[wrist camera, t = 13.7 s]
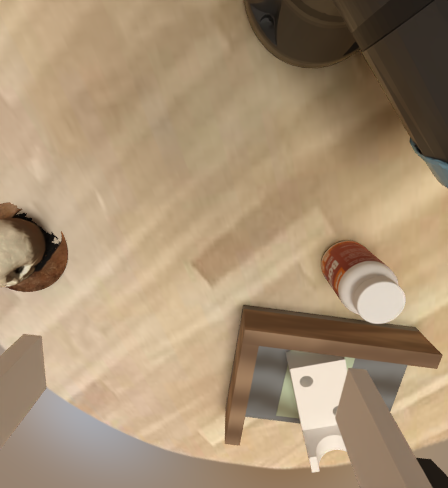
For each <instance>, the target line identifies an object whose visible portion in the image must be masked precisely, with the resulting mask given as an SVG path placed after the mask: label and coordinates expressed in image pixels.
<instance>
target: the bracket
mask: <svg viewBox="0 0 448 488" xmlns="http://www.w3.org/2000/svg"><path fill="white" fill-rule="evenodd" d="M286 357H287V362H288V366H289V371H290V376H291V381H292V386H293V390H294V395H295V400H296V405H297V410H298V415H299V419H300V424H301V428H302V432H303V436H304V441H305V445H306V449H307V453H308V457H309V461H310V465H311V470H312V472H319V462H320V459H321V458H322V456H323V455H324V454H325V453H327V452H329V451H331V450H343V451H346V452H347V450H346V447H345V445H344V442H343V439H342V436H341V433H340V431H339V428H338V425H337V422H336V419H335V416H336V412H337V409H338V405H339V401H340V397H341V394H342V390H343V386H344V382H345V379H346V375H347V367H346V360H345V358H344V357H341V356H333V355H326V354H318V353H310V352H302V351H288V352H286Z"/></svg>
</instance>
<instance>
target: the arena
mask: <svg viewBox="0 0 448 488" xmlns="http://www.w3.org/2000/svg"><path fill="white" fill-rule="evenodd" d="M288 351H302V352H310V353H318V354H326V355H333V356H341V357H344V358H345V360H346V367H347V371H348V368H355V369H365V370H367V372H368V374H369V375H370V377H371V379H372V381H373V383H374V384H375V386H376V388H377V390H378V391H379V393H380V395H381V397H382V399H383V400H384V402H385V404H386V406H387V407H388V409H389V411H391V408H392V405H393V403H394V400H395V397H396V395H397V392H398V389H399V386H400V384H401V381H402V378H403V376H404V373H405V370H406V367H407V365H411V366H419V367H427V368H435V369H437V367H438V365H439V363H440V360H441V358H442V354H441V353H440V352H439V351H438V350H437V349H436V348H435V347H434V346H433V345H432V344H431V343H430V342H429V341H428V340H427V339H426V338H425V337H424V336H423V335H422V334H421V333H420V332H419V330H418V329H417V328H415V327H407V326H400V325H392V324H384V323H382V324H374V323H370V322H368V321H361V320H354V319H346V318H338V317H331V316H323V315H316V314H308V313H300V312H293V311H285V310H277V309H270V308H262V307H254V306H247V305H243V310H242V316H241V321H240V327H239V333H238V339H237V345H236V351H235V357H234V363H233V368H232V374H231V380H230V386H229V392H228V398H227V404H226V414H225V444H231V445H240V440H241V435H242V430H243V425H244V419H245V417H252V418H260V419H269V420H277V421H285V422H293V423H300V419H299V415H298V410H297V405H296V400H295V395H294V390H293V386H292V381H291V376H290V371H289V366H288V362H287V357H286V352H288Z"/></svg>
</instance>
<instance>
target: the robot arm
mask: <svg viewBox="0 0 448 488" xmlns="http://www.w3.org/2000/svg"><path fill="white" fill-rule="evenodd" d="M244 2H245V8H246V12H247V16H248V19H249V21H250V24H251V26H252V28H253V30H254V32H255V34H256V36H257V37H258V39H259V40H260V42H261V43H262V44H263V45H264V46H265V48H266V49H267V50H268V51H270V52H271V53H272V54H273V55H274V56H276V57H277V58H279V59H280V60H282V61H284V62H286V63H289V64H291V65H294V66H298V67H304V68H319V67H325V66H329V65H333V64H335V63H338V62H340V61H342V60H344V59H346V58H348V57H349V56H351V55H352V54H354V53H355V52H357V51H358V50H359V49H361V51H362V54H363V56H364V57H365V59H366V61H367V63H368V64H369V66H370V68H371V70H372V71H373V73H374V75H375V77H376V78H377V80H378V82H379V83H380V85H381V87H382V89H383V90H384V92H385V94H386V96H387V97H388V99H389V101H390V103H391V104H392V106H393V108H394V110H395V111H396V113H397V115H398V117H399V118H400V120H401V122H402V124H403V125H404V127H405V129H406V130H407V132H408V134H409V136H410V143H411V146H412V148H413V149H414V151H415V153H416V154H417V155H418V156H420V157H421V158H422V159H423V160H424V161H425V162H426V164H427V165H428V167H429V168H430V170H431V172H432V173H433V175H434V176H435V177H436V179H437V180H438V181H439V182H440V183H441V184H442V185H444V186H445V187H447V188H448V0H244ZM45 389H46V378H45V368H44V357H43V346H42V336H37V335H27V334H23V335H22V336H21V337H20V338H19V339H18V340H17V341H16V342H15V343H14V344H13V345H11V346H10V347H9V348H8V349H7V350H6V351H5V352H4V353H3V354H2V355H1V356H0V449H1V448H2V446H3V445H4V444H5V443H6V441H7V440H8V438H9V437H10V436H11V435H12V433H13V432H14V431H15V429H16V428H17V427H18V425H19V424H20V422H21V421H22V420H23V419H24V417H25V416H26V415H27V413H28V412H29V411H30V409H31V408H32V407H33V405H34V404H35V403H36V401H37V400H38V398H39V397H40V396H41V395H42V393H43V392H44V391H45ZM335 419H336V422H337V425H338V428H339V431H340V433H341V436H342V439H343V442H344V445H345V447H346V450H347V453H348V456H349V459H350V462H351V464H352V467H353V470H354V472H355V476H356V478H357V481H358V484H359V487H360V488H448V477H447V476H446V474H445V473H444V472H443V471H442V470H441V469H440V468H439V467H437V465H436V464H435V463H434V462H433V461H432V460H431V459H422V458H416V457H415V455H414V454H413V452H412V450H411V448H410V447H409V445H408V443H407V441H406V439H405V438H404V436H403V434H402V432H401V431H400V429H399V427H398V425H397V423H396V422H395V420H394V418H393V416H392V415H391V413H390V411H389V409H388V407H387V406H386V404H385V402H384V400H383V399H382V397H381V395H380V393H379V391H378V390H377V388H376V386H375V384H374V383H373V381H372V379H371V377H370V375H369V374H368V372H367V370H365V369H355V368H348V371H347V375H346V379H345V382H344V386H343V390H342V394H341V397H340V401H339V405H338V409H337V412H336V416H335Z"/></svg>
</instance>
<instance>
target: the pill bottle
mask: <svg viewBox="0 0 448 488" xmlns="http://www.w3.org/2000/svg"><path fill="white" fill-rule="evenodd" d="M321 268H322V272H323V274H324V276H325V278H326V279H327V281H328V282H329V284H330V285H331V287H332V288H333V290H334V291H335V293H336V294H337V296H338V297H339V299H340V300H341V302H342V303H343V304H344V305H345V307H346V308H347V309H349V310H350V311H352V312H354V313H356V314H359V315H360V316H361V317H362V318H363V319H364V320H366V321H368V322H370V323H374V324H382V323H387V322H389V321H392V320H393V319H395V318H396V317H397V316H398V315H399V314H400V313H401V312H402V310H403V309H404V306H405V301H406V298H405V294H404V292H403V290H402V289H401V287H400V286H399V285H398V280H397V277H396V276H395V274H394V273H393V271H392V270H391V269H390V268H389V267H388V266H387V265H385V264H384V263H383V262H382V261H380V260H379V259H378V258H377V257H376V256H374V255H373V254H372V253H371V252H370V251H368V250H367V249H366V248H365V247H364V246H362V245H361V244H359V243H357V242H354V241H342V242H338V243H336V244H334V245H333V246H331V247H330V248H329V249H328V250H327V251H326V252H325V254H324V256H323V258H322V262H321Z"/></svg>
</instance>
